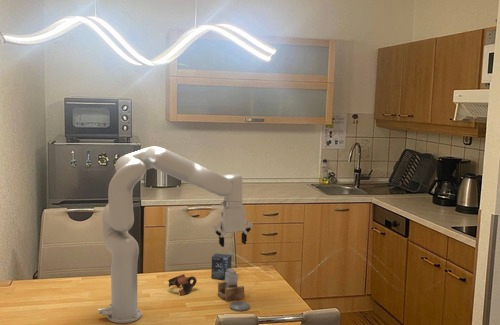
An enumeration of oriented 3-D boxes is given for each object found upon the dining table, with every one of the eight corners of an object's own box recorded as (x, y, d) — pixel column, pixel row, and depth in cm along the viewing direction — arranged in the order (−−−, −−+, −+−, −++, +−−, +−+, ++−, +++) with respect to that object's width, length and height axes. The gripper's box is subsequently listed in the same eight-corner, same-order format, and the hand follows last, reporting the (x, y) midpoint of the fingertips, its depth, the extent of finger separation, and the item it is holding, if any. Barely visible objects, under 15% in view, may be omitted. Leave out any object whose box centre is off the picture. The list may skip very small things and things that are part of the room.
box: (211, 278, 239) (211, 256, 238) (215, 274, 245) (215, 252, 243) (227, 280, 237) (227, 258, 236) (231, 276, 242) (231, 254, 241)
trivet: (234, 312, 203) (234, 310, 203) (226, 304, 210) (226, 302, 210) (252, 309, 206) (253, 307, 206) (244, 302, 213) (245, 300, 213)
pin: (228, 298, 216) (229, 272, 215) (224, 294, 221) (224, 269, 219) (237, 297, 218) (238, 271, 217) (233, 293, 222) (233, 267, 221)
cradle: (224, 301, 213) (224, 289, 213) (216, 293, 222) (216, 282, 221) (245, 298, 217) (245, 286, 216) (237, 290, 225) (237, 279, 225)
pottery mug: (174, 298, 217) (167, 279, 218) (171, 300, 225) (165, 282, 227) (201, 287, 221) (194, 269, 223) (197, 290, 229) (191, 272, 231)
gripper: (216, 207, 207) (216, 249, 210) (256, 204, 214) (255, 244, 217) (210, 204, 214) (210, 244, 217) (248, 200, 221) (248, 240, 224)
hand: (232, 244), depth 217 cm, fingers open, 9 cm apart
